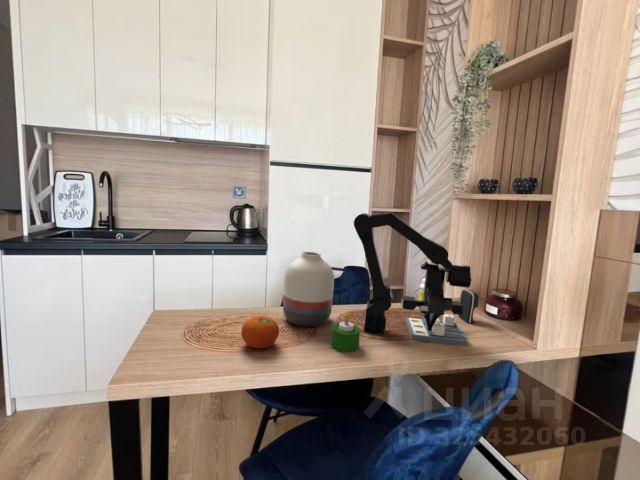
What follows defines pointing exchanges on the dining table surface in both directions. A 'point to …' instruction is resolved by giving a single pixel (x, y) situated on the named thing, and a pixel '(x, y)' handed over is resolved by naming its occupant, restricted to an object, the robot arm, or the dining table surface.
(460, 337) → the switch bank
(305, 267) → the vase
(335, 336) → the candle
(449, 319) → the tab far
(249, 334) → the fruit
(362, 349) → the dining table surface
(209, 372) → the dining table surface
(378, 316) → the robot arm
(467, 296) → the dark grey upright slab
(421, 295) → the pill bottle
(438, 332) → the tab near
